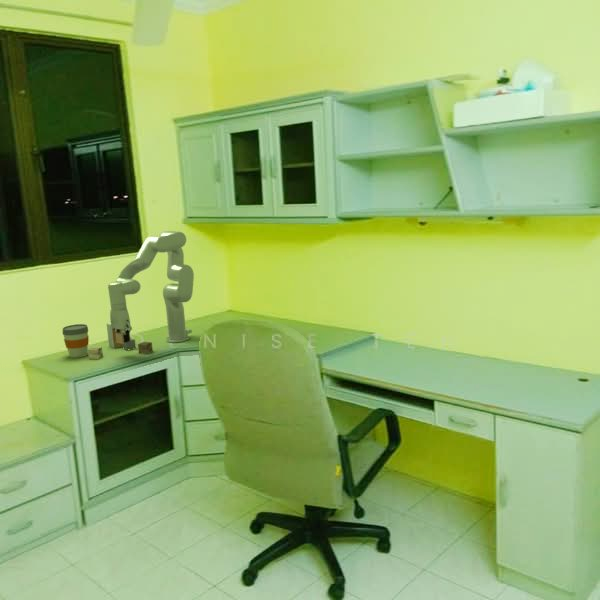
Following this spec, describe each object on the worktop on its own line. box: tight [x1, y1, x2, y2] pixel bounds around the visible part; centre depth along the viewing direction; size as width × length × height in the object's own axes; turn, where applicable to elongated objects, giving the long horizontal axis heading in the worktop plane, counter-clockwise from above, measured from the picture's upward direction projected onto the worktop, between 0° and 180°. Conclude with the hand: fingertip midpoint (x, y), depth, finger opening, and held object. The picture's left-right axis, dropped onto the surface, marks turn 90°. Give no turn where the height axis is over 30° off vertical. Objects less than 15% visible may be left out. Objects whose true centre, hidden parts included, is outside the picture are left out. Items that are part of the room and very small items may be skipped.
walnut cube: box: [137, 341, 153, 355], centre depth 310 cm, size 5×5×5 cm
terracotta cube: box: [115, 331, 131, 344], centre depth 304 cm, size 5×5×5 cm
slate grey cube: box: [122, 337, 137, 351], centre depth 318 cm, size 5×5×5 cm
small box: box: [106, 322, 126, 349], centre depth 324 cm, size 8×6×13 cm
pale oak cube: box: [87, 346, 104, 360], centre depth 305 cm, size 5×5×5 cm
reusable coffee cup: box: [62, 323, 90, 358], centre depth 310 cm, size 13×12×15 cm
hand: (123, 340), depth 304 cm, fingers closed on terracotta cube, 5 cm apart
